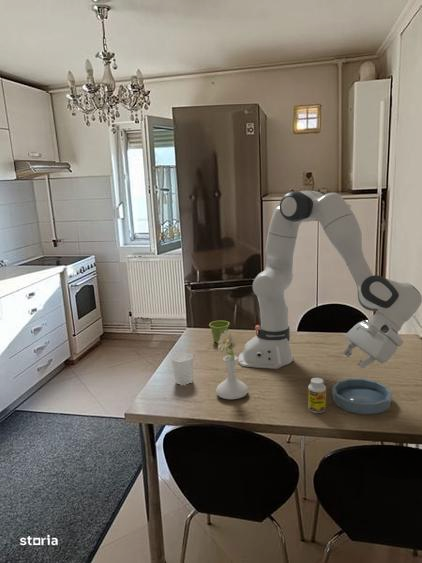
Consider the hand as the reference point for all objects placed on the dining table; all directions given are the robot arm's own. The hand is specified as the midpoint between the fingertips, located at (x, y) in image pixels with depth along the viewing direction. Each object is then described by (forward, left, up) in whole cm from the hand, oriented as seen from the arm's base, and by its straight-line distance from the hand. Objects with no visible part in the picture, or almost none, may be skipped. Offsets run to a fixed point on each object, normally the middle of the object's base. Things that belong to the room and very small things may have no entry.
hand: (352, 360), depth 139 cm
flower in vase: (-40, +5, -15) cm, 43 cm away
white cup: (-59, +16, -15) cm, 63 cm away
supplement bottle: (-12, -4, -15) cm, 20 cm away
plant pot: (-49, +58, -15) cm, 78 cm away
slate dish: (+3, +2, -15) cm, 16 cm away
